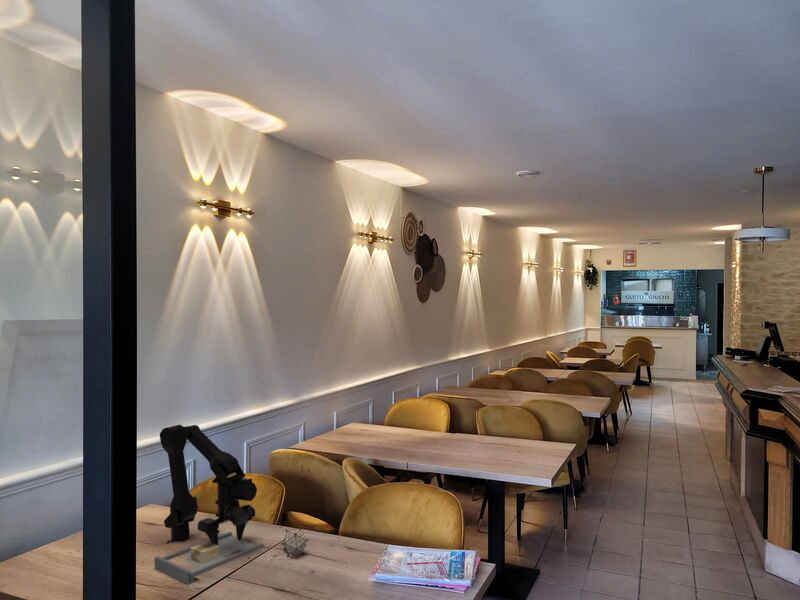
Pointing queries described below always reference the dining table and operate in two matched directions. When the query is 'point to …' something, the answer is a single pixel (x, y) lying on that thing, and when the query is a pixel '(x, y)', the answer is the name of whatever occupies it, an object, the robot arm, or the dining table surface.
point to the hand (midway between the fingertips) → (228, 544)
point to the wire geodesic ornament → (294, 541)
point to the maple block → (204, 552)
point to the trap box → (188, 576)
